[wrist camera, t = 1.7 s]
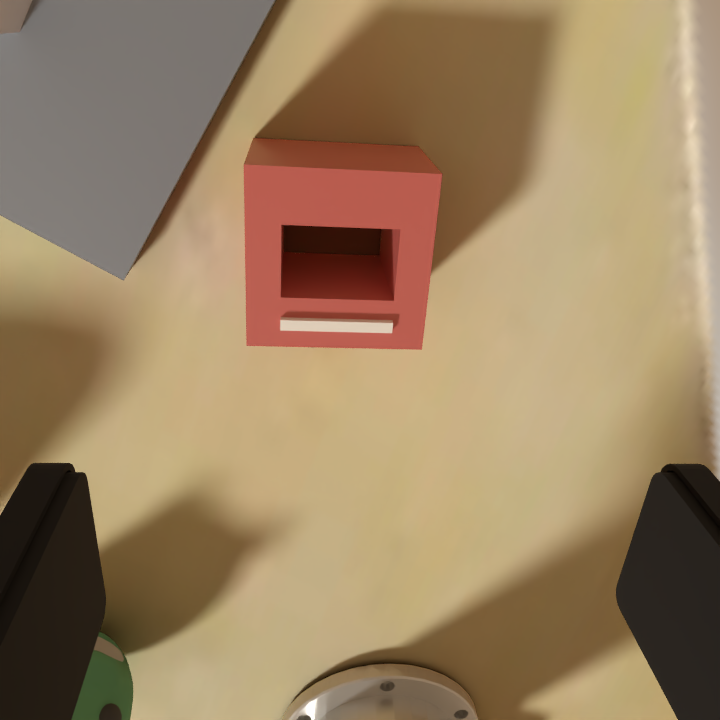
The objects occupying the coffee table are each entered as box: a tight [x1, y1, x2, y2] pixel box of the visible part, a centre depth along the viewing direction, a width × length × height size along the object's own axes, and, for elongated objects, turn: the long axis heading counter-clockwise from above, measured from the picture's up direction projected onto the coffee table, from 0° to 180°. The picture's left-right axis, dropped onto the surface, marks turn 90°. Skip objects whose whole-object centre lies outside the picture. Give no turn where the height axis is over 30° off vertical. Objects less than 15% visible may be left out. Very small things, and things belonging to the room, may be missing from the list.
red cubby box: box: [244, 138, 442, 350], centre depth 25 cm, size 6×6×5 cm
